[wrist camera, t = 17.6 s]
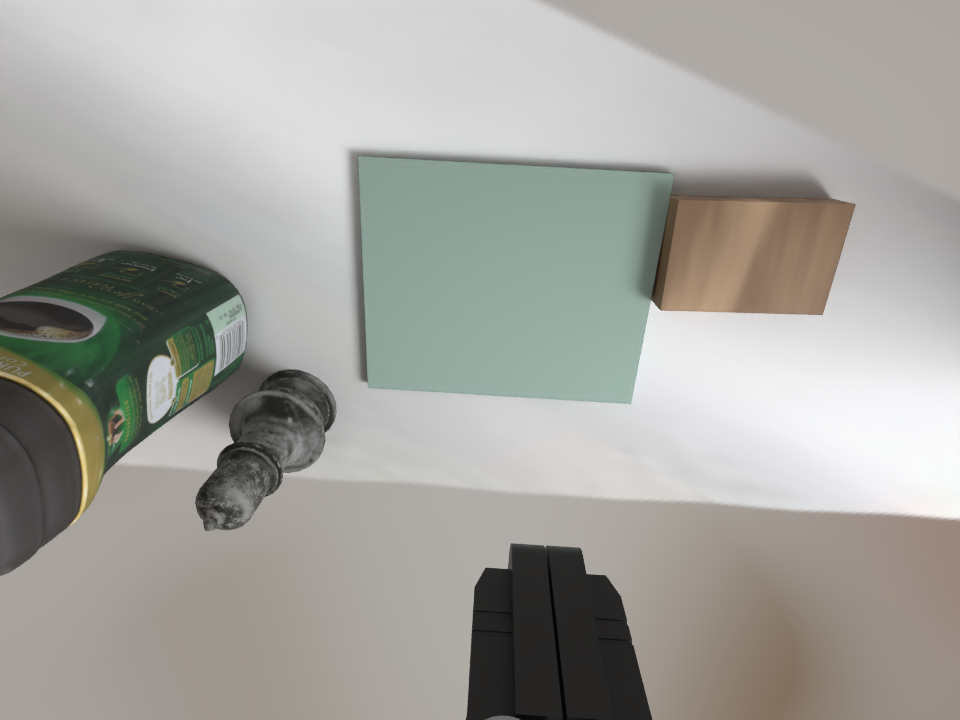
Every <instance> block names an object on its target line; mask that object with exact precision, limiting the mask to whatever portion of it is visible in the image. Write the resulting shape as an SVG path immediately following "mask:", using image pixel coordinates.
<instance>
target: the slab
mask: <svg viewBox="0 0 960 720" xmlns="http://www.w3.org/2000/svg"><path fill="white" fill-rule="evenodd" d="M855 205H856V204H853V203H848V202H844V201H839V200H834V199H806V198H762V197H718V196H674V195H671V197H670V202H669V207H668V212H667V218H666V223H665V228H664V233H663V238H662V244H661V249H660V254H659V259H658V265H657V270H656V275H655V280H654V286H653V291H652V296H651V300H652V301H653V302H654V303H655V305H656V306H657V307H658V308H659V309H660V310H665V311H701V312H736V313H772V314H807V315H823V312H824V309H825V305H826V302H827V299H828V295H829V292H830V288H831V285H832V282H833V278H834V275H835V272H836V268H837V265H838V262H839V258H840V255H841V252H842V248H843V245H844V242H845V238H846V235H847V231H848V228H849V225H850V221H851V218H852V215H853V211H854V208H855Z"/></svg>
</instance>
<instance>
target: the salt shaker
mask: <svg viewBox="0 0 960 720" xmlns="http://www.w3.org/2000/svg"><path fill="white" fill-rule="evenodd" d="M335 416H336V402H335V400H334V397H333V394H332V393H331V391H330V390H329V389H328V387H327V386H326V385H325V384H324V383H323V382H322V381H321V380H319V379H318V378H316V377H314V376H313V375H311V374H309V373H305V372H302V371H296V370H286V371H281V372H278V373H276V374H274V375H272V376H270V377H269V378H268V379H267V380H266V381H265V382H264V383H263V384H262V386H261V388H260V390H259V391H258V392H254V393H252V394H250V395H248V396H245V397H244V398H243V399H242V400H240V401H239V402H238V403H237V404H236V405H235V407H234V409H233V411H232V413H231V415H230V422H229V428H230V434H231V437H232V439H233V441H234V443H233V444H231V445H229V446H227V447H226V448H224V449H223V450H222V451H221V453H220V455H219V457H218V459H217V469H216V470H215V471H214V472H213V474H212V475H211V476H210V477H209V478H208V480H207V481H206V482H205V483H204V484H203V486H202V487H201V488H200V490H199V492H198V494H197V496H196V502H195V504H196V508H197V512H198V514H199V516H200V518H202V520H203V521H204V522H203V524H204V528H205V531H211V530H215V529H220V530H232V529H237V528H239V527H241V526H243V525H244V524H245V523H246V522H248V521H249V520H250V518H251V517H252V515H253V514H254V512H255V511H256V509H257V508H258V506H259V504H260V503H261V501H262V500H263V498H264V497H266V496H268V495H271V494H273V493H274V492H275V491H276V490H277V489H278V488H279V486H280V484H281V482H282V477H283V474H282V473H291V472H297V471H301V470H303V469H305V468H308V467H310V466H311V465H312V464H313V463H314V462H315V461H317V459H318V458H319V456H320V455H321V453H322V451H323V448H324V444H325V432H326V431H327V430H329V429H330V427H331V426H332V424H333V422H334V421H335Z"/></svg>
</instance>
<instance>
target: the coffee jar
mask: <svg viewBox="0 0 960 720" xmlns="http://www.w3.org/2000/svg"><path fill="white" fill-rule="evenodd" d="M246 340H247V315H246V308H245V305H244V302H243V299H242V297H241V295H240V294H239V292H238V290H237V289H236V288H235V287H234V285H233V284H232V283H231V282H230V281H228V280H227V279H226V278H224V277H222V276H221V275H219V274H217V273H215V272H213V271H210V270H207V269H205V268H202V267H199V266H196V265H193V264H190V263H187V262H184V261H181V260H176V259H172V258H168V257H164V256H159V255H154V254H149V253H141V252H134V251H113V252H109V253H106V254H103V255H100V256H98V257H95V258H92V259H90V260H88V261H85V262H83V263H80V264H78V265H76V266H74V267H71V268H69V269H67V270H65V271H63V272H61V273H58V274H56V275H54V276H52V277H50V278H48V279H45V280H43V281H41V282H38V283H36V284H33V285H31V286H29V287H26V288H24V289H21V290H19V291H16V292H14V293H11V294H9V295H7V296H4V297H2V298H0V576H1V575H4V574H7V573H9V572H11V571H13V570H14V569H16V568H17V567H19V566H20V565H22V564H23V563H24V562H26V561H27V560H28V559H30V558H31V557H32V556H33V555H34V554H35V553H36V552H37V551H38V549H39V548H41V547H42V546H44V545H45V544H47V543H48V542H49V541H51V540H52V539H53V538H55V537H56V536H57V535H58V534H59V533H61V532H62V531H64V530H65V529H66V528H67V527H68V526H70V525H72V524H73V523H74V522H75V521H76V520H77V519H79V517H80V516H81V515H82V514H83V513H84V512H85V510H86V509H87V508H88V507H89V505H90V504H91V502H92V501H93V499H94V497H95V495H96V493H97V491H98V489H99V487H100V484H101V481H102V478H103V476H104V474H105V473H106V472H107V471H108V470H109V469H110V468H111V467H112V466H113V465H114V464H115V463H116V462H117V461H118V460H119V459H121V458H122V457H123V456H124V455H125V454H126V453H127V452H129V451H130V450H131V449H132V448H134V447H135V446H136V445H138V444H139V443H140V442H142V441H143V440H144V439H145V438H147V437H148V436H149V435H151V434H152V433H153V432H154V431H156V430H157V429H158V428H160V427H161V426H162V425H164V424H165V423H166V422H168V421H169V420H170V419H172V418H173V417H175V416H176V415H177V414H179V413H180V412H182V411H183V410H184V409H186V408H187V407H189V406H190V405H192V404H193V403H194V402H196V401H198V400H199V399H200V398H202V397H203V396H205V395H206V394H208V393H209V392H211V391H212V390H213V389H215V388H216V387H217V386H218V385H219V384H221V383H222V382H223V381H224V380H226V379H227V378H228V377H229V376H230V375H231V374H232V373H234V372H235V371H236V369H237V368H238V367H239V365H240V363H241V361H242V358H243V355H244V351H245V347H246Z"/></svg>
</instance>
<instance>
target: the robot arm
mask: <svg viewBox="0 0 960 720" xmlns="http://www.w3.org/2000/svg"><path fill="white" fill-rule="evenodd" d="M466 720H652V717H651V713H650V709H649V705H648V701H647V697H646V693H645V690H644V686H643V682H642V678H641V674H640V670H639V666H638V662H637V658H636V654H635V650H634V646H633V645H632V639H631V635H630V631H629V627H628V625H627V619H626V615H625V611H624V607H623V603H622V599H621V596H620V595H619V594H618V592H617V591H616V589H615V588H614V586H613V585H612V584H611V582H610V581H609V579H608V578H607V577H606V576H605V575H590V574H586V570H585V565H584V559H583V554H582V551H581V549H580V548H574V547H559V546H546V548H545V547H544V546H542V545H527V544H511V545H510V553H509V563H508V569H497V568H485V570H484V572H483V573H482V575H481V577H480V579H479V581H478V582H477V584H476V586H475V590H474V606H473V623H472V639H471V656H470V674H469V690H468V707H467V717H466Z"/></svg>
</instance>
